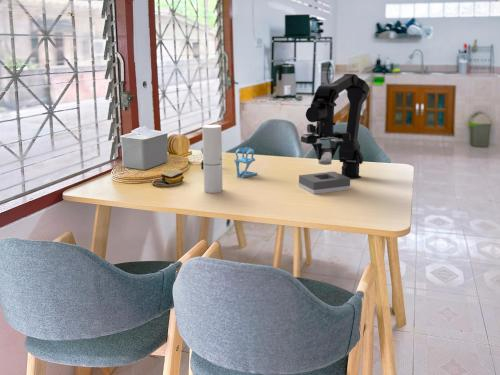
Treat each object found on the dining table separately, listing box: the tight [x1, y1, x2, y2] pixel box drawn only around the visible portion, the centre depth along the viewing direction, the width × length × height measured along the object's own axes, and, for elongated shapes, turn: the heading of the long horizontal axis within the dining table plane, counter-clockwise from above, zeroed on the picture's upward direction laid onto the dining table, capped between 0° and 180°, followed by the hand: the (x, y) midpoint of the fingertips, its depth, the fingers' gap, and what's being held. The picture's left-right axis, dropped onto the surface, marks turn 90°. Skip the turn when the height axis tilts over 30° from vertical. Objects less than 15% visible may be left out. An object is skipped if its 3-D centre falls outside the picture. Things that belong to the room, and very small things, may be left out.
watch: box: [200, 146, 204, 170], centre depth 247 cm, size 6×8×11 cm
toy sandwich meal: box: [151, 168, 185, 188], centre depth 223 cm, size 12×14×5 cm
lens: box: [318, 146, 333, 166], centre depth 211 cm, size 5×5×6 cm
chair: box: [234, 146, 258, 179], centre depth 233 cm, size 8×8×12 cm
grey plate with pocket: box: [298, 171, 351, 195], centre depth 214 cm, size 16×12×4 cm
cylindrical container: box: [201, 124, 223, 194], centre depth 209 cm, size 7×7×25 cm
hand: (325, 159), depth 212 cm, fingers closed on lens, 5 cm apart
